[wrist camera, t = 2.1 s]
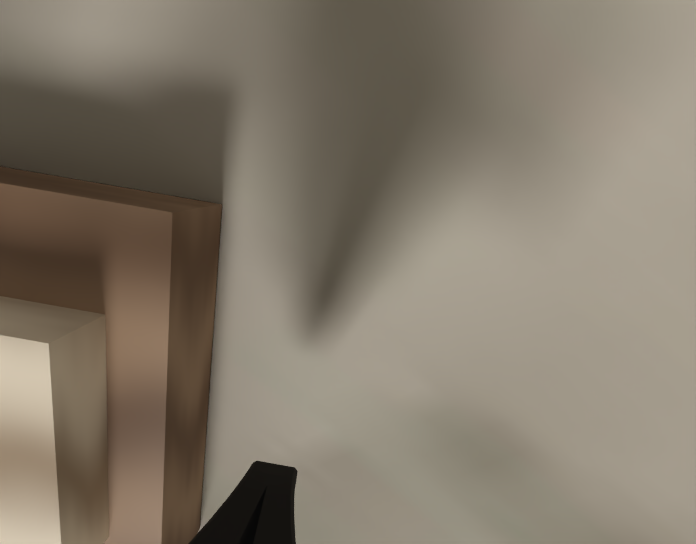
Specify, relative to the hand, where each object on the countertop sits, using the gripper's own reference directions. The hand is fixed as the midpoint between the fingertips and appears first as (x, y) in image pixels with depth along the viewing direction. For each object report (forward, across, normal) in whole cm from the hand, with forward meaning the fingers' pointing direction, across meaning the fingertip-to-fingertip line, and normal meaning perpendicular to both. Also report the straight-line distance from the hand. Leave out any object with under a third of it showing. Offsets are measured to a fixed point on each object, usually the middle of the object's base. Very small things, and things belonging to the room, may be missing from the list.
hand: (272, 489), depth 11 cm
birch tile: (+1, +9, 0) cm, 9 cm away
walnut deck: (+4, +9, 0) cm, 10 cm away
